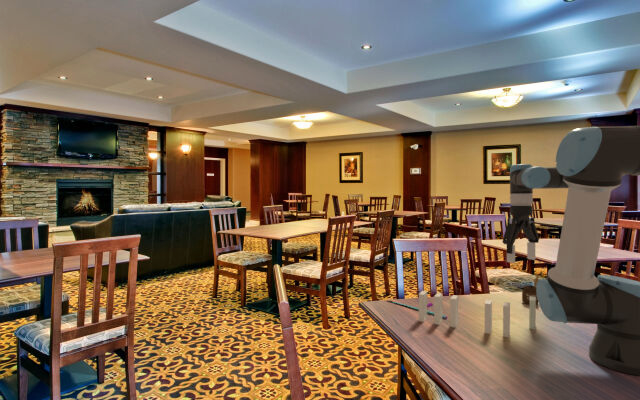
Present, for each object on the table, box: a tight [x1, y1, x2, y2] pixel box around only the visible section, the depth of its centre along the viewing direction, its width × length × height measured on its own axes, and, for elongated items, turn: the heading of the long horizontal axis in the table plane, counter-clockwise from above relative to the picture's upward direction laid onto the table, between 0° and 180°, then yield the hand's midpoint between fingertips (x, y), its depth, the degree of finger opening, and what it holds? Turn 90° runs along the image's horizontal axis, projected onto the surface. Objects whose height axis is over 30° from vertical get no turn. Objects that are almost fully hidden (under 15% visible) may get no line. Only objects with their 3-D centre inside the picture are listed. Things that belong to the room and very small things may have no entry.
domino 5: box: [502, 301, 511, 338], centre depth 117 cm, size 2×5×10 cm, turn 149°
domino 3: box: [449, 294, 459, 328], centre depth 125 cm, size 2×5×10 cm, turn 149°
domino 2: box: [433, 292, 443, 326], centre depth 128 cm, size 2×5×10 cm, turn 149°
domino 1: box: [418, 290, 428, 323], centre depth 131 cm, size 2×5×10 cm, turn 149°
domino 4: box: [484, 299, 493, 335], centre depth 119 cm, size 2×5×10 cm, turn 149°
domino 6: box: [528, 296, 537, 331], centre depth 123 cm, size 2×5×10 cm, turn 149°
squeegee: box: [392, 301, 448, 320], centre depth 145 cm, size 29×2×10 cm
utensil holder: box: [521, 274, 540, 306], centre depth 149 cm, size 6×6×12 cm
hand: (521, 260), depth 134 cm, fingers open, 13 cm apart
